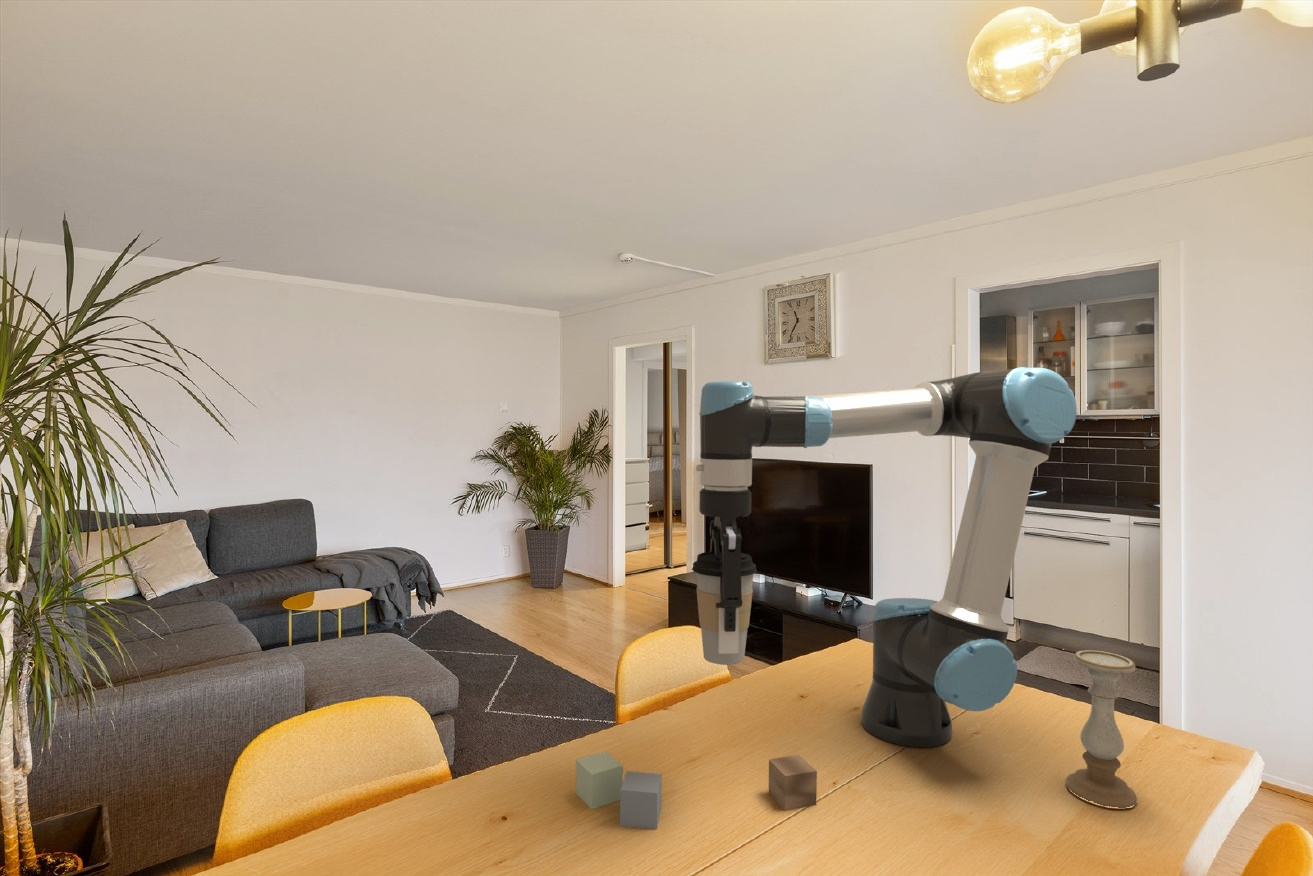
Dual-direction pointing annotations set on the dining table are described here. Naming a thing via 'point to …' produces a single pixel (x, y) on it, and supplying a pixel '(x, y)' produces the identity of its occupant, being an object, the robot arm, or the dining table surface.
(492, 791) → the dining table surface
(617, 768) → the sage cube
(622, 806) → the slate cube
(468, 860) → the dining table surface
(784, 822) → the dining table surface
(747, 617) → the coffee cup
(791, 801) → the walnut cube
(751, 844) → the dining table surface
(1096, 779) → the candle holder
